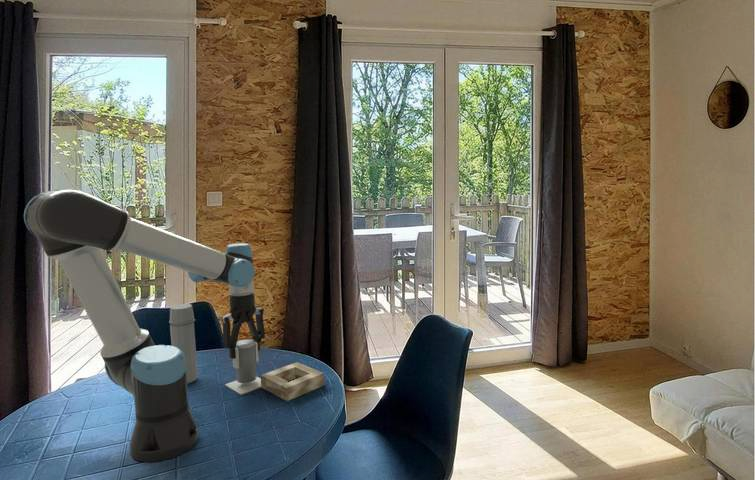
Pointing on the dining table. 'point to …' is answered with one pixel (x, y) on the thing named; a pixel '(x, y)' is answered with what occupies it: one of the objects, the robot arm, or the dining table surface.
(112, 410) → the dining table surface
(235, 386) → the pad
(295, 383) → the housing
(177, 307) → the water bottle
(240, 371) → the grey domed cylinder
